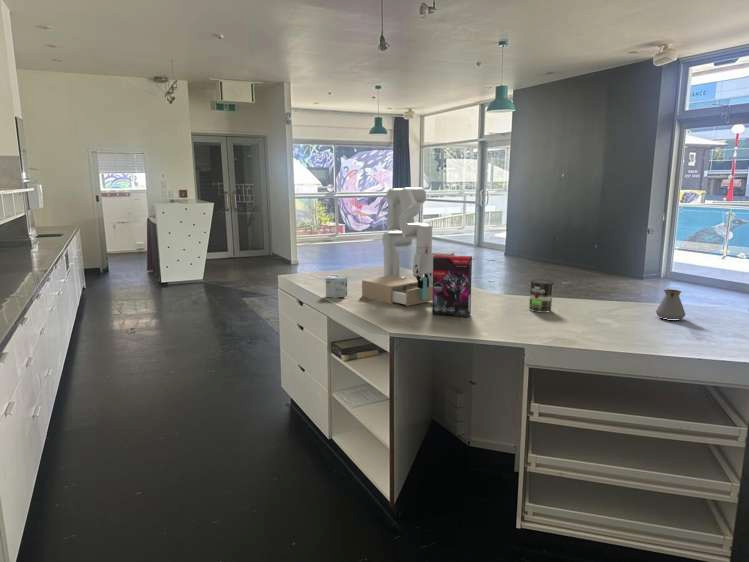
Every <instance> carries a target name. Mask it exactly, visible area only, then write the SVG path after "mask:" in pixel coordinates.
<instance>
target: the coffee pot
mask: <svg viewBox="0 0 749 562" xmlns="http://www.w3.org/2000/svg"><path fill="white" fill-rule="evenodd" d="M663 291H664V293H665V295H664V297H663V299H662V300H661V301H660V304H659V306H658V307H657V309H656V310H655V313H656V315H657V317H659V318H660V317H662V318H667V319H680V320H682V319H684V318H685V316H686V312H685V310H684V309H685V308H684V305H683V304H682V301H681V297H680V296H681V295H680V294H681V293H682V291H681V290H679V289H678V290H677V289H669V288H668V289H664V290H663Z"/></svg>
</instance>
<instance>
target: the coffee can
mask: <svg viewBox="0 0 749 562" xmlns="http://www.w3.org/2000/svg"><path fill="white" fill-rule="evenodd" d="M529 294H530V295H529V306H528V310H529V309H530V310H533V311H539V312H547V311H551V312H552V306H553V294H554V281H552V280H549V279H542V278H541V279H531V280H530V292H529ZM530 310H529V311H530ZM533 311H532V312H533Z"/></svg>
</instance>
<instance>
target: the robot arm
mask: <svg viewBox="0 0 749 562" xmlns="http://www.w3.org/2000/svg"><path fill="white" fill-rule="evenodd" d="M385 195H386V201H387V215H386V216H387V217H386V228H387V229H388V231H386V232H384V233H383V234H382V236H381V237H382V246H383V277H384V276H394V277H399V278H404V279H407V278H406V276H401V254H400V252H399V251H398V249H397V248H410V246H412V244H413V243H412V242H413V239H416V240H415V243H416V244H415V253H414V256H413V257H414V258H413V263H412V275H413V276H414V277H415V278H416V281H418V283H417V287H418V288H421V289H422V288H423V280H422V278H423V277H427V287H429V279H430V276H431V274H433V256H432V252H433V226H432V225H431V224H428V223H425V222H415V218H414V217H416V216H418V215H419V214H420V212H421V207H420V204H421V205H422V204H425V202H426V200H427V193H426V190H425V189H424V188H423V187H417V186H416V187H415V186H414V187H408V186H407V187H402V188H401V187H398V188H396V187H395V188H390V189H387V191H386V194H385ZM389 230H390V231H389ZM423 275H424V276H423Z"/></svg>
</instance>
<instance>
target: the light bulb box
mask: <svg viewBox="0 0 749 562" xmlns="http://www.w3.org/2000/svg"><path fill="white" fill-rule="evenodd" d="M346 296H348V276H346V275H345V276H343V275H340V276H339V275H327V276H326V277H325V298H326V297H346ZM346 298H347V297H346Z"/></svg>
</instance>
